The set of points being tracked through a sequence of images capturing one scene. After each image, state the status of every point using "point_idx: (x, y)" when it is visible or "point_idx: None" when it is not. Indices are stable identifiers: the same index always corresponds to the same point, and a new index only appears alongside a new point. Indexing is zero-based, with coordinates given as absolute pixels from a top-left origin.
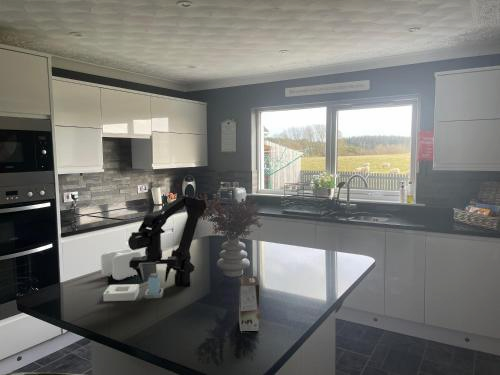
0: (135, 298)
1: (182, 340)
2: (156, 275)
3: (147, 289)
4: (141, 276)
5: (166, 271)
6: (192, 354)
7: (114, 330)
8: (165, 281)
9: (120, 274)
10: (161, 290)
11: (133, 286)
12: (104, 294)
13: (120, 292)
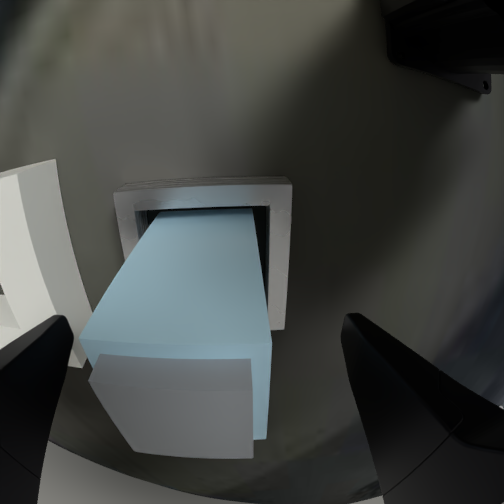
0: (90, 310)
1: (337, 487)
2: (235, 455)
3: (120, 213)
4: (46, 423)
5: (392, 499)
6: (345, 497)
7: (166, 478)
8: (346, 348)
9: None
10: (273, 246)
11: (2, 237)
12: None
13: (5, 342)
